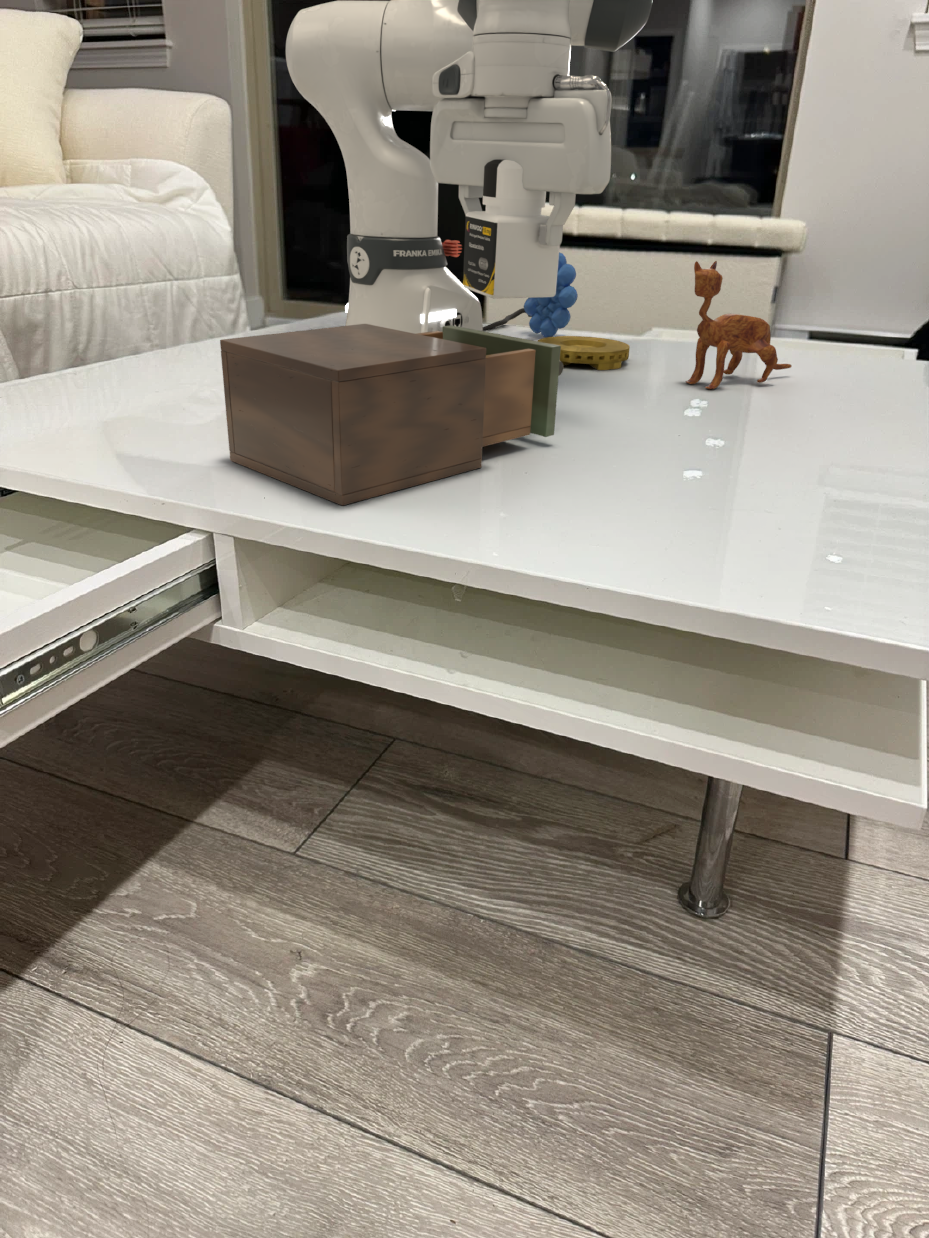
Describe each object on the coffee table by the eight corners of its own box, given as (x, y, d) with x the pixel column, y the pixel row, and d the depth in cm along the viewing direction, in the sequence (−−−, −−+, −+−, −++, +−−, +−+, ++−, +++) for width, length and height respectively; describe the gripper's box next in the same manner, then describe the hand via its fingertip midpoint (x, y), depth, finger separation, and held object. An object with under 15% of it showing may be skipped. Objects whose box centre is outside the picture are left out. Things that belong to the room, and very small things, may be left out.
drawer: (481, 400, 92) (485, 321, 89) (586, 426, 84) (594, 340, 81) (341, 429, 80) (338, 338, 77) (446, 463, 72) (449, 363, 69)
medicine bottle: (461, 288, 92) (466, 156, 87) (523, 286, 95) (532, 158, 90) (491, 299, 87) (499, 159, 81) (556, 297, 90) (568, 162, 84)
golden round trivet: (629, 356, 123) (631, 339, 122) (625, 373, 112) (627, 355, 111) (542, 350, 125) (543, 333, 124) (529, 366, 114) (531, 348, 113)
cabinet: (367, 431, 83) (365, 323, 79) (481, 467, 74) (486, 347, 70) (229, 460, 74) (219, 339, 70) (342, 506, 65) (338, 370, 61)
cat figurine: (768, 371, 116) (789, 256, 110) (810, 381, 111) (834, 262, 105) (663, 382, 108) (679, 259, 101) (703, 394, 103) (722, 265, 96)
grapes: (594, 343, 131) (602, 254, 126) (556, 345, 128) (563, 255, 123) (548, 330, 140) (554, 247, 135) (512, 333, 137) (516, 247, 132)
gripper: (634, 76, 78) (617, 249, 84) (466, 80, 90) (462, 230, 97) (589, 71, 74) (574, 253, 80) (419, 76, 86) (419, 233, 93)
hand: (512, 240), depth 89 cm, fingers closed on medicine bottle, 8 cm apart
